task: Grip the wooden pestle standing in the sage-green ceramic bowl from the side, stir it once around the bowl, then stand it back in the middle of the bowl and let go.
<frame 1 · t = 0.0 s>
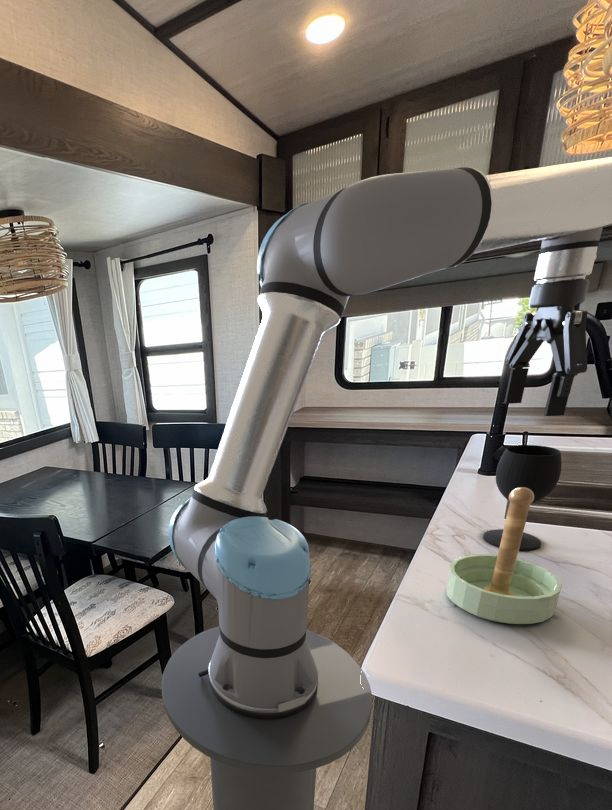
hand: (531, 409, 87), 29 cm above the counter, tool pointing down, fingers open, 13 cm apart
bowl: (496, 602, 81), on the counter
wooden pestle: (497, 598, 81), point 1 cm above the counter, touching bowl
wine glass: (510, 541, 101), on the counter
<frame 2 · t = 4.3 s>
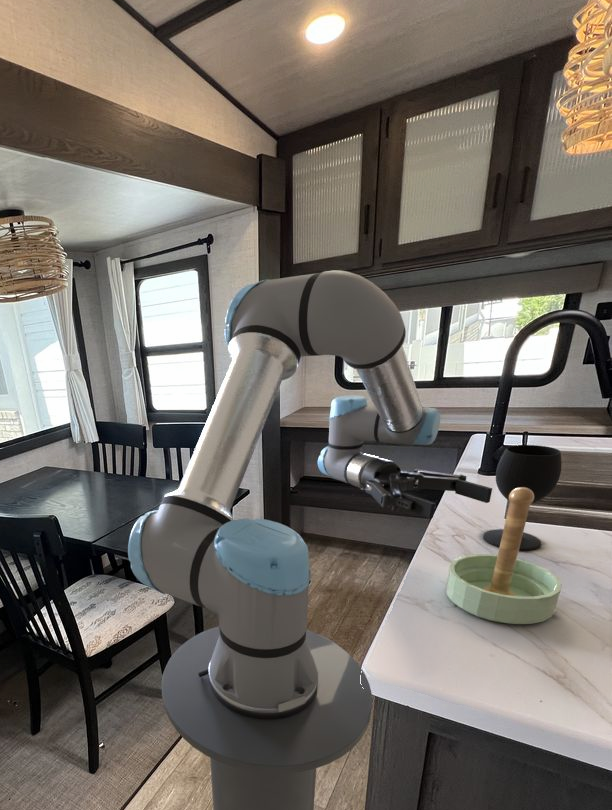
hand: (461, 503, 83), 15 cm above the counter, tool horizontal, fingers open, 13 cm apart
nothing on the counter moved.
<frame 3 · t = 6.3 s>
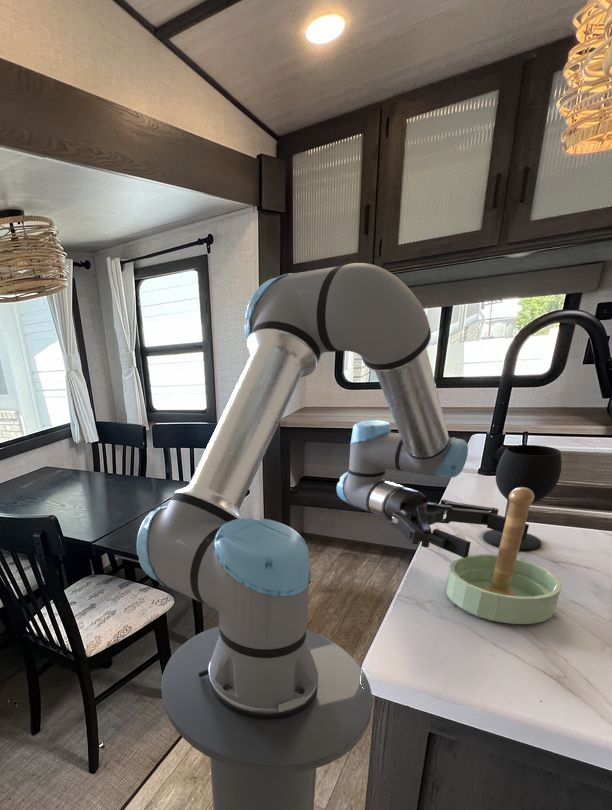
hand: (497, 541, 79), 11 cm above the counter, tool horizontal, fingers open, 13 cm apart
nothing on the counter moved.
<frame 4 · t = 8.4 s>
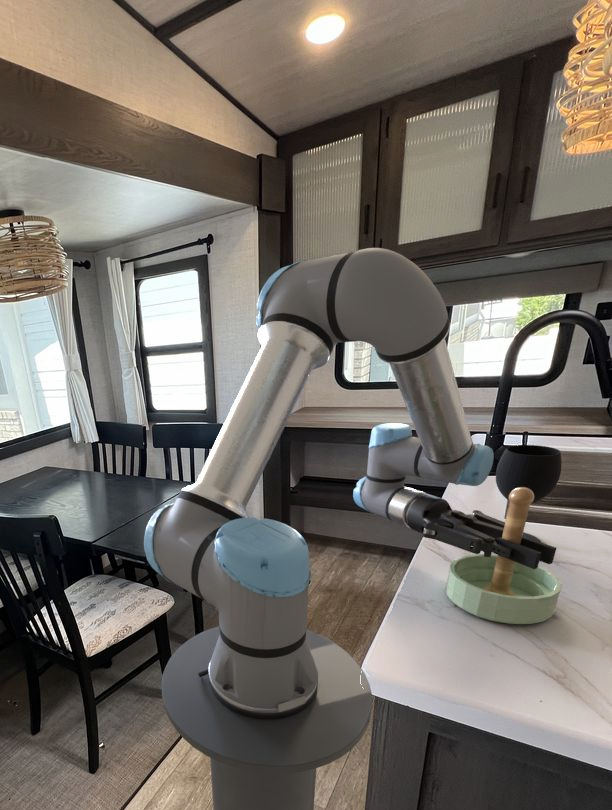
hand: (545, 558, 72), 11 cm above the counter, tool horizontal, fingers closed on wooden pestle, 3 cm apart
wooden pestle: (497, 598, 81), point 1 cm above the counter, touching bowl, gripper
everything else where it was.
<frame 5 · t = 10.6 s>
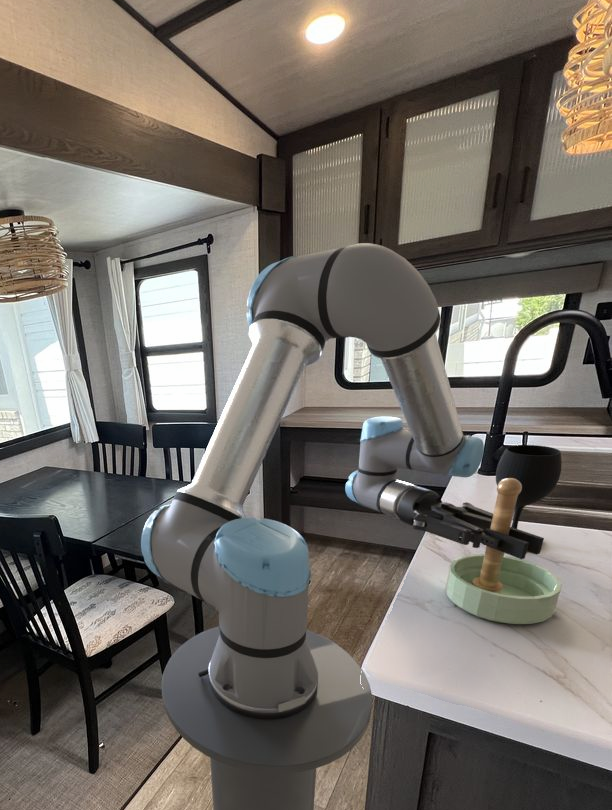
hand: (532, 548, 72), 12 cm above the counter, tool horizontal, fingers closed on wooden pestle, 3 cm apart
wooden pestle: (486, 589, 81), point 2 cm above the counter, touching gripper
everything else where it was.
when the fingers open (11 cm above the counter, at t = 13.2 s): wooden pestle stays where it is, resting on bowl.
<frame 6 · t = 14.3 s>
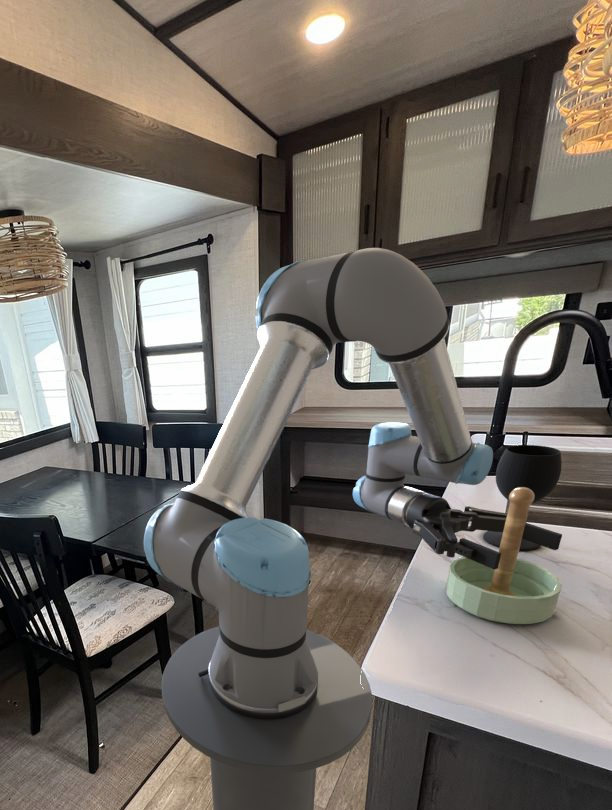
hand: (529, 551, 74), 11 cm above the counter, tool horizontal, fingers open, 13 cm apart
wooden pestle: (497, 598, 81), point 1 cm above the counter, touching bowl
everything else where it was.
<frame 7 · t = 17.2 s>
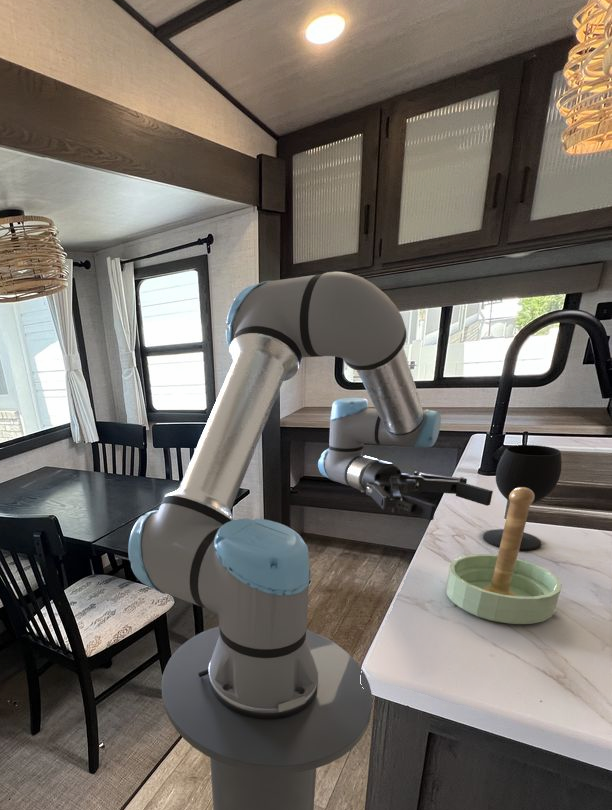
hand: (462, 505, 83), 15 cm above the counter, tool horizontal, fingers open, 13 cm apart
nothing on the counter moved.
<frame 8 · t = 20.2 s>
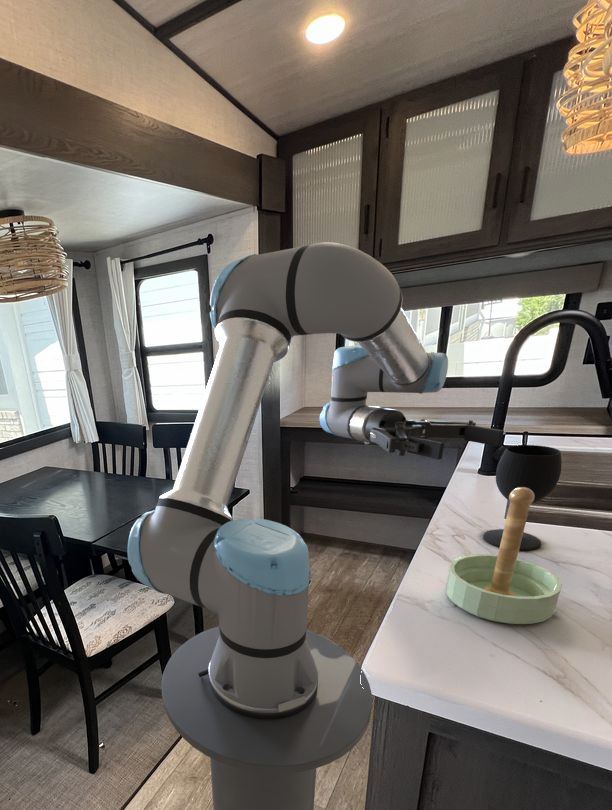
hand: (472, 444, 79), 26 cm above the counter, tool horizontal, fingers open, 13 cm apart
nothing on the counter moved.
at the end: wooden pestle 0.0 cm off-centre in the bowl, point 0.8 cm above the bowl's base; wooden pestle tilted 0°; the gripper is holding nothing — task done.
